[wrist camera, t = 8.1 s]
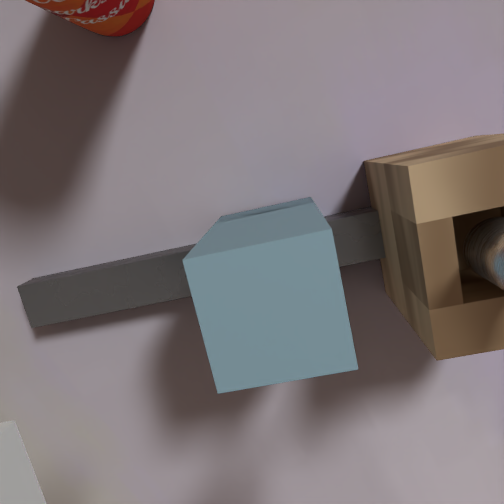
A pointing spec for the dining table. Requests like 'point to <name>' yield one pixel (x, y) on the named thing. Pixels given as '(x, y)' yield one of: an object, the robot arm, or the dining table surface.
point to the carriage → (270, 297)
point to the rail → (166, 275)
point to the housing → (441, 240)
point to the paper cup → (101, 14)
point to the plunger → (486, 250)
